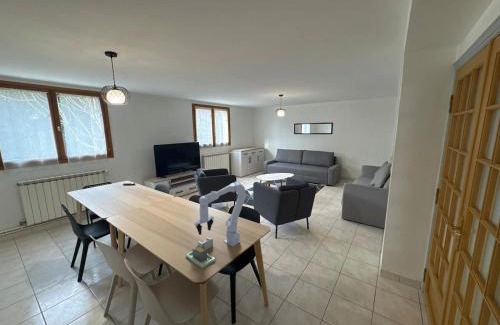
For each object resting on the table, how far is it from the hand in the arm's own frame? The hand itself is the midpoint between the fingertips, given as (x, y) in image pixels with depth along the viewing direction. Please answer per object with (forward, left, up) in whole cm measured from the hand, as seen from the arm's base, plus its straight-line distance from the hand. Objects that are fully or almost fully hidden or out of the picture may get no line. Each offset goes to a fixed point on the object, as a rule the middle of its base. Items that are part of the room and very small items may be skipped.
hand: (204, 232), depth 138 cm
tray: (-10, +11, -10) cm, 18 cm away
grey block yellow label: (-10, +11, -9) cm, 17 cm away
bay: (-2, +1, -10) cm, 10 cm away
